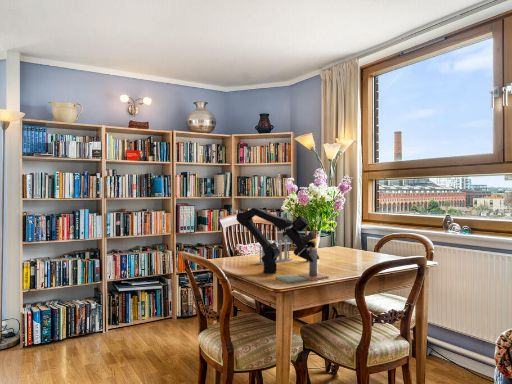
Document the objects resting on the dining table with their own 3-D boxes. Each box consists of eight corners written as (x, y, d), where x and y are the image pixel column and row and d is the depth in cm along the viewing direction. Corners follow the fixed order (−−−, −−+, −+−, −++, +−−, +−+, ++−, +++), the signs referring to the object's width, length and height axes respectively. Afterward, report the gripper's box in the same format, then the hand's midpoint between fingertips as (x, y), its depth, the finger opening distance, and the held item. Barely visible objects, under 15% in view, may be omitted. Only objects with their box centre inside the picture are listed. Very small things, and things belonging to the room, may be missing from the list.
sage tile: (288, 283, 191) (288, 281, 191) (275, 278, 200) (275, 276, 200) (306, 280, 197) (306, 278, 197) (292, 276, 206) (292, 274, 206)
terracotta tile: (312, 280, 196) (312, 278, 196) (298, 276, 206) (298, 274, 206) (328, 278, 202) (328, 276, 202) (314, 274, 211) (314, 272, 211)
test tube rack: (287, 259, 256) (287, 238, 255) (292, 260, 252) (292, 239, 252) (256, 263, 241) (256, 241, 241) (260, 264, 237) (260, 242, 237)
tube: (308, 275, 203) (308, 247, 203) (310, 274, 206) (310, 246, 206) (316, 276, 201) (316, 248, 201) (317, 274, 205) (317, 247, 205)
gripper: (299, 228, 197) (320, 252, 192) (312, 225, 214) (332, 247, 209) (284, 243, 201) (305, 267, 196) (298, 239, 217) (317, 261, 212)
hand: (315, 260), depth 203 cm, fingers open, 9 cm apart
